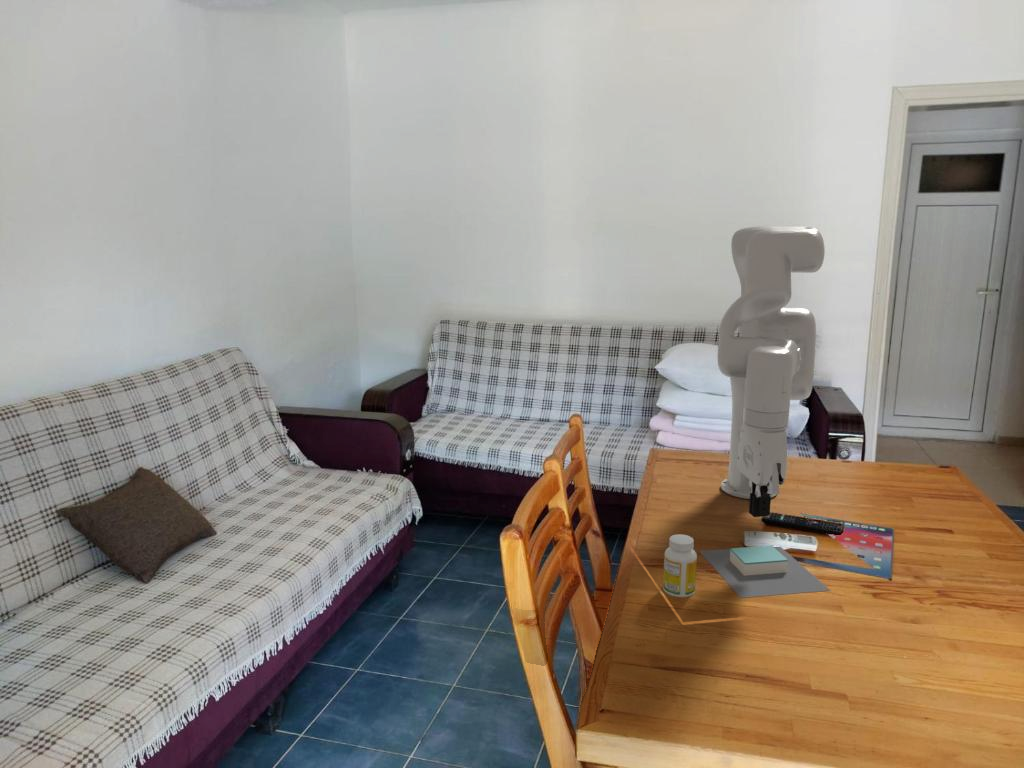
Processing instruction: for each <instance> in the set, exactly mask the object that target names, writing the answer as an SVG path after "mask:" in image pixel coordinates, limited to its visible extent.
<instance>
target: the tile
mask: <svg viewBox="0 0 1024 768" xmlns="http://www.w3.org/2000/svg"><path fill="white" fill-rule="evenodd" d="M773 546H774V545H761V546H757V545H756V546H746V547H734V548H729V549H730V561H731V562H732V563H733V564H734V565H735V567H736V568H737V569H738V570H739V571H740V572H741V573H742V574H743V575H744V576H747V575H759V574H772V573H784V572H787V564H788V560H787V559H786V558H785V557H784V556H783V555H782V554H781V553H780V552H778V551H777V550H776V549H775V548H774V547H773Z"/></svg>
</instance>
